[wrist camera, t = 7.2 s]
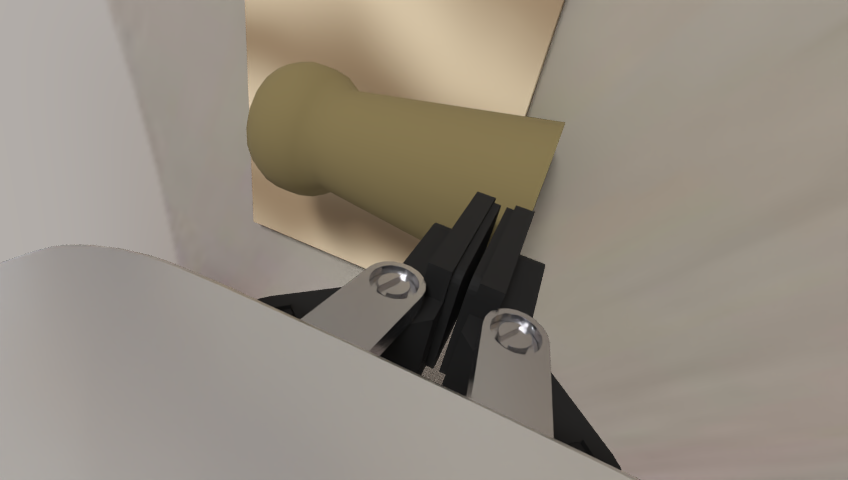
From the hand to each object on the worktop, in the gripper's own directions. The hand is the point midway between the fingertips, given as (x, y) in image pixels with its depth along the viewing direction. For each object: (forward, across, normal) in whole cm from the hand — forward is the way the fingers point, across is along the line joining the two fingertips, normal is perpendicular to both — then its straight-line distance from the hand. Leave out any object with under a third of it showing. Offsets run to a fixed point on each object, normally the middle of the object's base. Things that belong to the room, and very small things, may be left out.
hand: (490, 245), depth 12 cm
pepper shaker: (+4, -1, 0) cm, 4 cm away
